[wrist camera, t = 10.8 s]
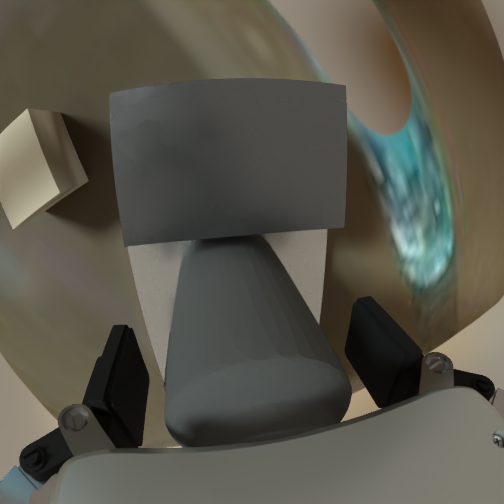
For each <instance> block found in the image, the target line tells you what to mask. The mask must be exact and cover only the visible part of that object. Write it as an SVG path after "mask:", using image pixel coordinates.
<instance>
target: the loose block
mask: <svg viewBox="0 0 504 504" xmlns="http://www.w3.org/2000/svg"><path fill="white" fill-rule="evenodd" d="M88 181H89V180H88V178H87V176H86V174H85V171H84V169H83V167H82V165H81V162H80V160H79V158H78V155H77V153H76V151H75V148H74V146H73V143H72V141H71V139H70V136H69V134H68V131H67V128H66V126H65V123H64V120H63V118H62V115H61V113H59V112H52V111H45V110H36V109H26V110H25V111H24V112H23V113H22V114H21V115H20V116H19V117H17V118H16V119H15V120H14V121H13V122H12V123H11V124H10V125H9V126H8V127H7V128H6V129H5V130H4V131H3V132H2V133H1V134H0V201H1V204H2V206H3V208H4V211H5V213H6V215H7V217H8V219H9V222H10V224H11V226H12V228H13V229H15V228H17V227H18V226H20V225H22V224H23V223H25V222H27V221H29V220H30V219H32V218H34V217H36V216H37V215H39V214H41V213H43V212H45V211H46V210H48V209H49V208H50V207H52V206H53V205H54V204H56V203H57V202H59V201H60V200H61V199H63V198H64V197H66V196H67V195H69V194H70V193H71V192H73V191H74V190H76V189H77V188H79V187H80V186H82V185H83V184H85V183H87V182H88Z"/></svg>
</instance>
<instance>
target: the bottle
mask: <svg viewBox="0 0 504 504" xmlns="http://www.w3.org/2000/svg"><path fill="white" fill-rule="evenodd" d="M351 395H352V387H351V384H350V381H349V378H348V376H347V374H346V372H345V370H344V368H343V366H342V365H341V363H340V361H339V359H338V357H337V355H336V353H335V351H334V350H333V348H332V346H331V345H330V343H329V341H328V339H327V338H326V336H325V334H324V333H323V331H322V329H321V327H320V326H319V324H318V322H317V321H316V319H315V317H314V315H313V314H312V312H311V310H310V309H309V307H308V305H307V304H306V302H305V300H304V299H303V297H302V295H301V294H300V292H299V290H298V289H297V287H296V285H295V284H294V282H293V280H292V279H291V277H290V275H289V274H288V272H287V270H286V269H285V267H284V266H283V264H282V262H281V261H280V259H279V257H278V256H277V254H276V253H275V251H274V250H273V248H272V247H271V245H270V244H269V243H268V242H267V241H266V240H265V238H263V237H262V236H261V235H260V234H255V235H243V236H232V237H220V238H209V239H198V240H193V241H192V242H191V244H190V245H189V246H188V248H187V249H186V251H185V253H184V255H183V258H182V261H181V266H180V270H179V276H178V282H177V289H176V296H175V303H174V310H173V318H172V326H171V334H170V343H169V352H168V362H167V376H166V394H165V422H166V426H167V428H168V431H169V433H170V434H171V436H172V437H173V438H174V439H175V441H176V442H177V443H178V444H179V445H181V446H182V447H183V448H187V447H206V446H218V445H228V444H237V443H246V442H258V441H266V440H273V439H279V438H284V437H288V436H293V435H297V434H301V433H304V432H308V431H311V430H314V429H318V428H322V427H325V426H329V425H333V424H336V423H340V422H341V420H342V419H343V417H344V416H345V414H346V412H347V410H348V407H349V404H350V401H351Z"/></svg>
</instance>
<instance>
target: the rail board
mask: <svg viewBox="0 0 504 504" xmlns="http://www.w3.org/2000/svg"><path fill="white" fill-rule="evenodd" d="M109 100H110V131H111V147H112V159H113V170H114V179H115V188H116V196H117V203H118V210H119V216H120V223H121V229H122V234H123V240H124V245H125V247H127V246H128V251H129V256H130V261H131V266H132V270H133V275H134V279H135V284H136V288H137V292H138V296H139V300H140V304H141V308H142V312H143V316H144V319H145V323H146V327H147V330H148V334H149V337H150V340H151V344H152V347H153V350H154V353H155V356H156V359H157V363H158V366H159V369H160V372H161V374H162V377H163V380H164V389H165V392H166V376H167V362H168V352H169V343H170V334H171V326H172V318H173V310H174V303H175V296H176V289H177V282H178V276H179V270H180V266H181V261H182V258H183V255H184V253H185V251H186V249H187V248H188V246H189V245H190V244H191V242H192V241H193V240H198V239H209V238H220V237H232V236H243V235H255V234H260V235H261V236H262V237H263V238H265V240H266V241H267V242H268V243H269V244H270V245H271V247H272V248H273V250H274V251H275V253H276V254H277V256H278V257H279V259H280V261H281V262H282V264H283V266H284V267H285V269H286V270H287V272H288V274H289V275H290V277H291V279H292V280H293V282H294V284H295V285H296V287H297V289H298V290H299V292H300V294H301V295H302V297H303V299H304V300H305V302H306V304H307V305H308V307H309V309H310V310H311V312H312V314H313V315H314V317H315V319H316V321H317V322H318V324H319V322H320V313H321V304H322V294H323V284H324V272H325V259H326V245H327V229H333V228H344V224H345V208H346V186H347V104H346V86H345V85H338V84H331V83H323V82H313V81H302V80H287V79H262V78H235V79H210V80H196V81H184V82H175V83H167V84H159V85H152V86H146V87H139V88H134V89H128V90H123V91H118V92H113V93H109Z"/></svg>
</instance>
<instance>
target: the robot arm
mask: <svg viewBox="0 0 504 504" xmlns="http://www.w3.org/2000/svg"><path fill="white" fill-rule="evenodd" d="M421 353H422V350H421V349H420V348H419V347H418V345H417V344H416V343H415V342H414V341H413V340H412V339H411V338H410V337H409V336H408V335H407V334H406V332H405V331H404V330H403V329H402V328H401V327H400V326H399V325H398V324H397V323H396V322H395V321H394V320H393V319H392V318H391V317H390V316H389V315H388V313H387V312H386V311H385V310H384V309H383V308H382V307H381V306H380V305H379V304H378V303H377V302H376V301H375V300H374V299H373V298H372V297H371V296H368V297H362V298H358V299H357V301H356V302H355V303H354V304H353V309H352V315H351V320H350V326H349V331H348V336H347V341H346V346H345V354H346V357H347V358H348V360H349V361H350V363H351V365H352V366H353V368H354V369H355V371H356V373H357V374H358V376H359V377H360V379H361V381H362V382H363V384H364V385H365V387H366V389H367V390H368V392H369V393H370V395H371V397H372V398H373V400H374V401H375V403H376V405H377V406H378V407H379V408H382V409H380V410H377V411H374V412H371V413H368V414H366V415H363V416H360V417H357V418H353V419H350V420H347V421H343V422H340V423H336V424H333V425H329V426H325V427H322V428H318V429H314V430H311V431H308V432H304V433H301V434H297V435H293V436H288V437H284V438H279V439H273V440H266V441H258V442H246V443H237V444H228V445H218V446H206V447H187V448H138V446H142V442H143V431H144V422H145V413H146V404H147V396H148V389H149V374H148V371H147V369H146V366H145V363H144V360H143V358H142V355H141V352H140V349H139V346H138V343H137V340H136V337H135V334H134V331H133V329H132V328H129V327H128V325H114V326H113V327H112V330H111V333H110V335H109V338H108V340H107V343H106V346H105V348H104V351H103V354H102V356H100V357H98V359H97V361H96V364H95V366H94V369H93V372H92V375H91V378H90V381H89V384H88V387H87V390H86V393H85V396H84V399H83V402H82V404H72V405H69V406H67V407H66V408H64V409H63V410H62V411H61V413H60V415H59V417H58V425H59V427H58V428H57V429H55V430H53V431H52V432H50V433H49V434H47V435H45V436H43V437H42V438H40V439H39V440H36V441H35V442H33V443H31V444H29V445H28V446H26V447H25V448H24V449H23V450H22V452H21V454H20V459H19V460H20V466H19V467H17V466H14V467H13V468H12V469H11V470H10V471H9V473H8V474H7V475H6V476H5V477H4V478H3V479H2V480H1V481H0V504H504V390H502V389H500V388H497V390H495V387H494V384H493V382H492V381H491V380H490V379H489V378H487V377H485V376H483V375H479V374H474V373H469V372H465V371H460V370H456V369H453V364H452V361H451V360H450V358H448V357H447V356H446V355H444V354H442V353H439V352H431V353H428V354H426V355H425V356H423V355H422V354H421Z"/></svg>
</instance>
